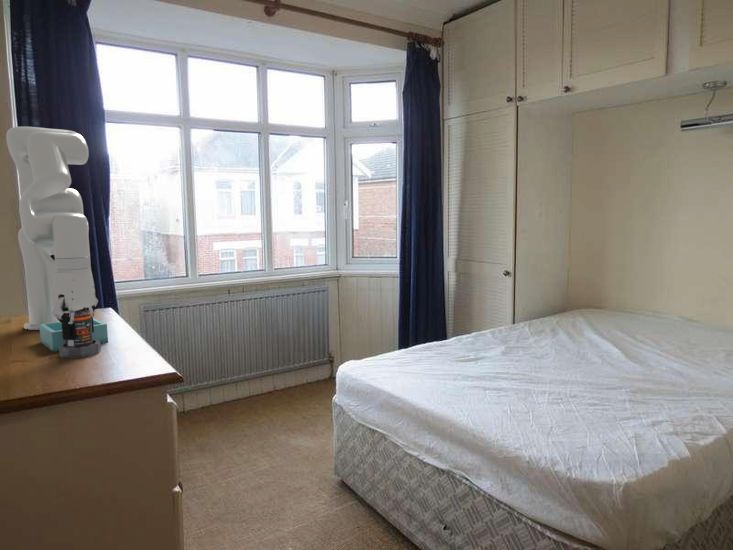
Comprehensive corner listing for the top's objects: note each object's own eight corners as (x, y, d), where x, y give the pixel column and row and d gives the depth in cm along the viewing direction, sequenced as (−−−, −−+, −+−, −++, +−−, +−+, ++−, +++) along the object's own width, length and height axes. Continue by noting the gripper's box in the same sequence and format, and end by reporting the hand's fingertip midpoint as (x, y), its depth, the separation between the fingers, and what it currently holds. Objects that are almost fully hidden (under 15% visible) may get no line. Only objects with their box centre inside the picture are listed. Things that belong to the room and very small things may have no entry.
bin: (40, 342, 138) (39, 324, 137) (93, 334, 147) (91, 317, 146) (53, 351, 128) (51, 332, 128) (108, 342, 137) (106, 324, 137)
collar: (55, 353, 127) (55, 343, 127) (94, 346, 133) (93, 337, 133) (65, 360, 121) (64, 350, 120) (105, 353, 127) (104, 343, 127)
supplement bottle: (73, 352, 123) (69, 306, 121) (61, 348, 126) (57, 303, 125) (97, 346, 128) (94, 302, 126) (85, 343, 131) (82, 300, 130)
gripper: (81, 260, 133) (86, 327, 135) (32, 268, 116) (39, 345, 118) (108, 260, 132) (113, 328, 135) (63, 269, 115) (69, 345, 118)
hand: (78, 335), depth 127 cm, fingers closed on supplement bottle, 6 cm apart
